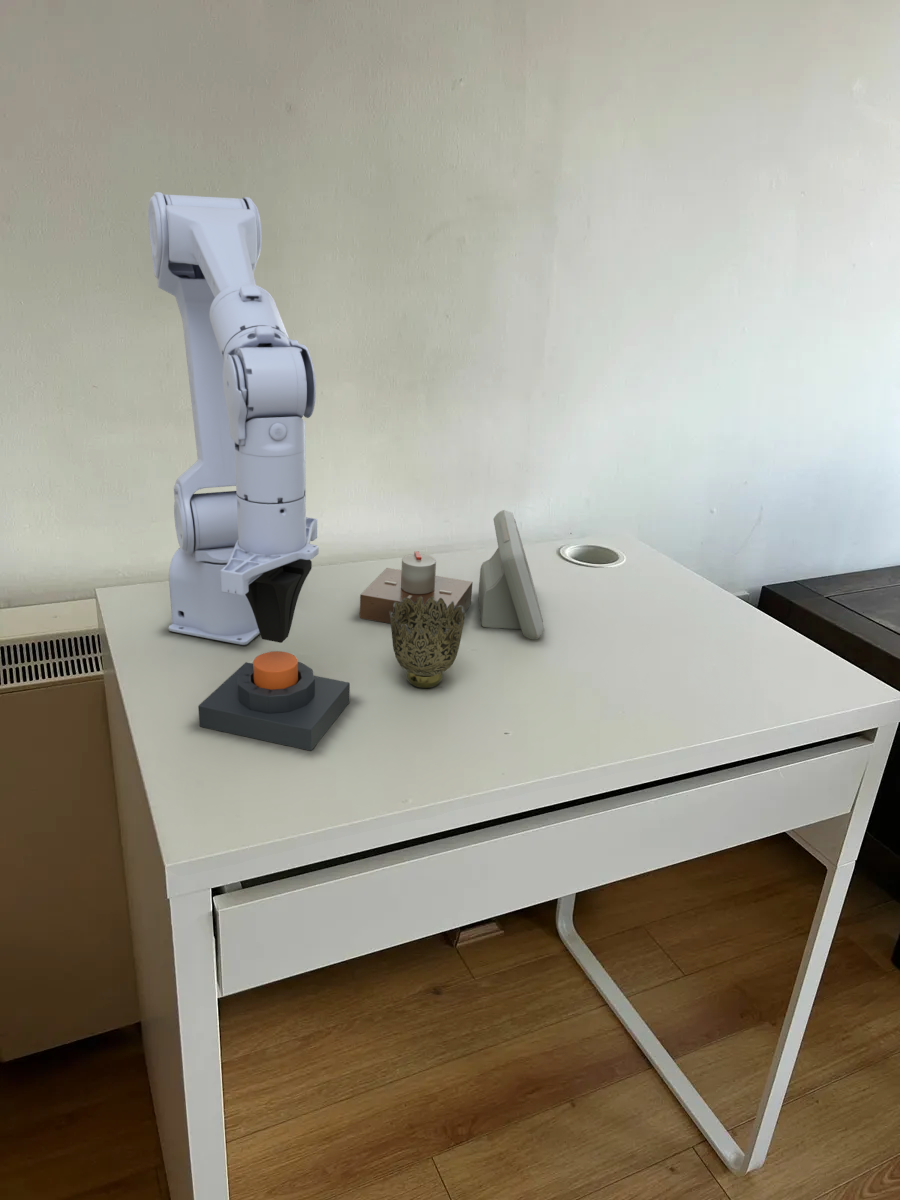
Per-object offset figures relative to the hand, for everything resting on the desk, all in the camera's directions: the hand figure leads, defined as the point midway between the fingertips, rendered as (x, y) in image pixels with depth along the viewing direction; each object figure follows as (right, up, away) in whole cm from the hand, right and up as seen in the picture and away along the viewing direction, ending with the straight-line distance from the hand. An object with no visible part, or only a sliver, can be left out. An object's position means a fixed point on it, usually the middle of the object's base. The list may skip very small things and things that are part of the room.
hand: (274, 637), depth 81 cm
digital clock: (+23, +2, +27) cm, 36 cm away
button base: (0, -7, +3) cm, 8 cm away
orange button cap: (0, -4, +2) cm, 4 cm away
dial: (+12, +5, +25) cm, 28 cm away
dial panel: (+12, +2, +26) cm, 29 cm away
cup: (+13, -5, +10) cm, 18 cm away
